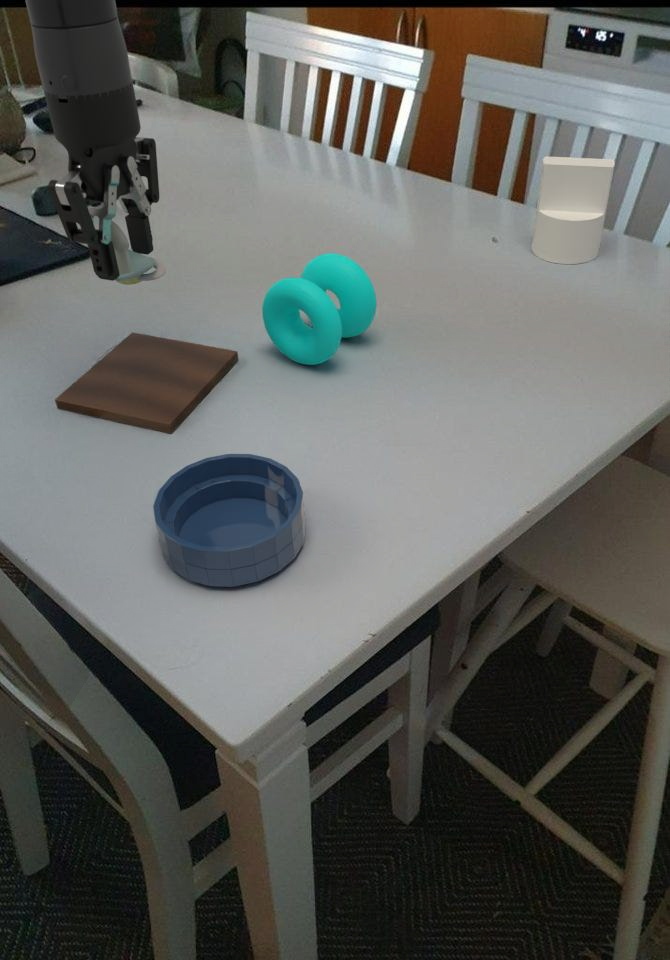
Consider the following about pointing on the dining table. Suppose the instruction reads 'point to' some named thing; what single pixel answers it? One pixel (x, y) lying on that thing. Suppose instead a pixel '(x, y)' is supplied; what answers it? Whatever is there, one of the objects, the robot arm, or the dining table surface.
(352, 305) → the donuts
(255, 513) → the bowl
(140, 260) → the pacifier
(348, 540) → the dining table surface
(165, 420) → the board
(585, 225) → the cylinder with rectangular tab
